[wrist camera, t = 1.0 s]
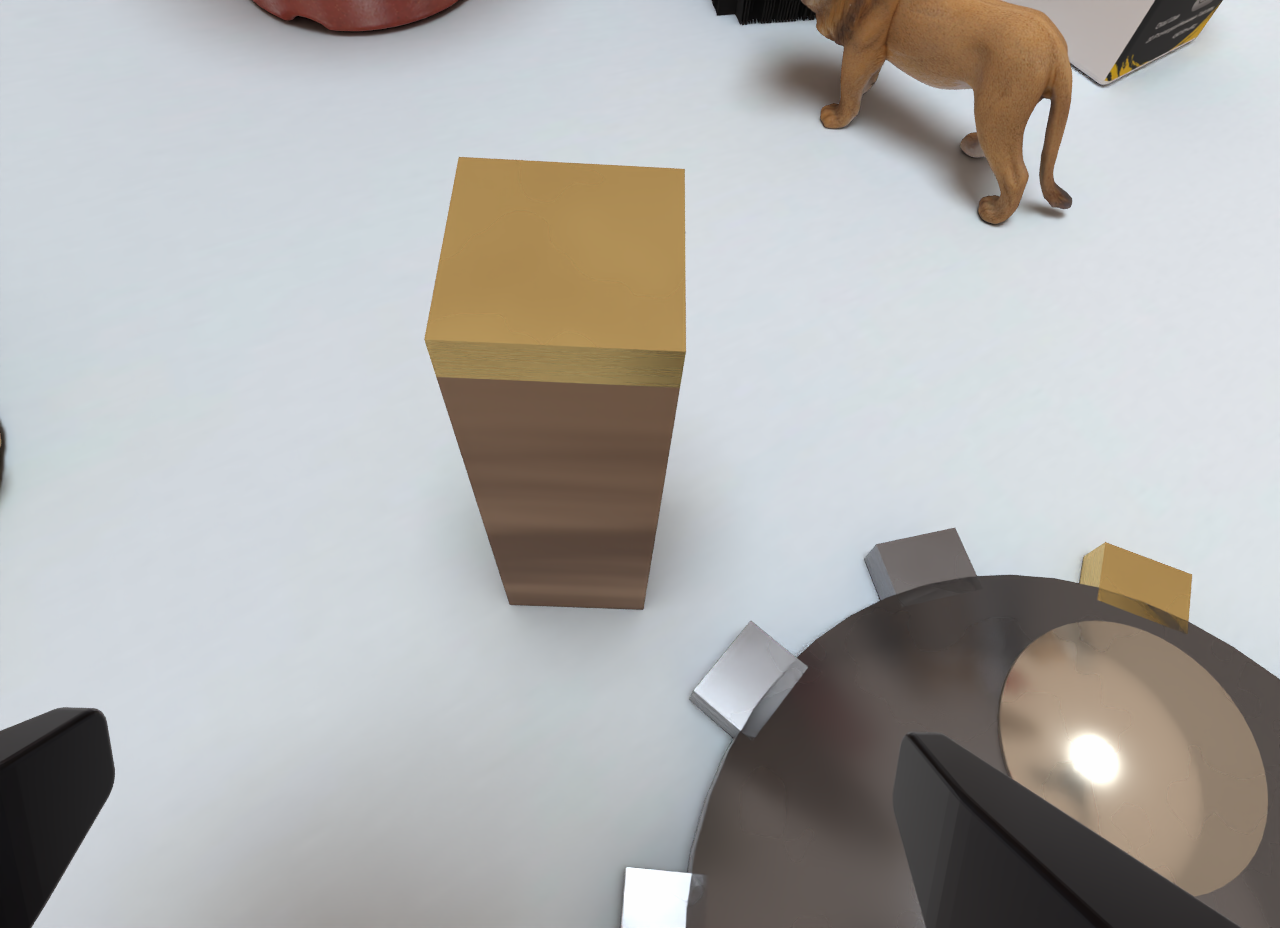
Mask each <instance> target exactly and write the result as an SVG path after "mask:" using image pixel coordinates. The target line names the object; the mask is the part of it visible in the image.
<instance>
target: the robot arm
mask: <svg viewBox="0 0 1280 928" xmlns="http://www.w3.org/2000/svg"><path fill="white" fill-rule="evenodd" d="M114 779H115V767H114V761H113V755H112V749H111V743H110V738H109V732H108V726H107V721H106V717H105V716H104V714H103V713H102V712H101V711H100V710H98V709H95V708H69V707H63V708H57V709H54V710H52V711H49V712H47V713H44V714H42V715H39V716H37V717H34V718H32V719H29V720H27V721H24V722H22V723H19V724H17V725H14V726H12V727H9V728H7V729H4V730H2V731H0V928H31V927H32V926H33V924H34V922H35V921H36V919H37V918H38V916H39V914H40V913H41V911H42V910H43V908H44V906H45V905H46V903H47V901H48V900H49V898H50V896H51V895H52V893H53V891H54V889H55V888H56V886H57V884H58V883H59V881H60V879H61V877H62V876H63V874H64V872H65V871H66V869H67V867H68V865H69V864H70V862H71V860H72V859H73V857H74V855H75V853H76V852H77V850H78V848H79V847H80V845H81V843H82V841H83V840H84V838H85V836H86V835H87V833H88V831H89V829H90V828H91V826H92V824H93V823H94V821H95V819H96V817H97V816H98V814H99V812H100V811H101V809H102V807H103V805H104V804H105V802H106V800H107V799H108V797H109V795H110V793H111V790H112V787H113V784H114ZM892 800H893V810H894V815H895V819H896V822H897V826H898V829H899V833H900V837H901V840H902V844H903V847H904V851H905V855H906V858H907V862H908V865H909V869H910V873H911V876H912V880H913V883H914V887H915V890H916V894H917V898H918V901H919V905H920V908H921V912H922V916H923V919H924V923H925V926H926V928H1242V927H1240V926H1239V925H1237V924H1236V923H1234V922H1233V921H1231V920H1230V919H1228V918H1227V917H1225V916H1223V915H1222V914H1220V913H1219V912H1217V911H1216V910H1214V909H1213V908H1211V907H1210V906H1208V905H1206V904H1205V903H1203V902H1202V901H1200V900H1199V899H1197V898H1196V897H1194V896H1193V895H1191V894H1189V893H1188V892H1186V891H1185V890H1183V889H1182V888H1180V887H1179V886H1177V885H1176V884H1174V883H1172V882H1171V881H1169V880H1168V879H1166V878H1165V877H1163V876H1162V875H1160V874H1159V873H1157V872H1156V871H1154V870H1152V869H1151V868H1149V867H1148V866H1146V865H1145V864H1143V863H1142V862H1140V861H1139V860H1137V859H1135V858H1134V857H1132V856H1131V855H1129V854H1128V853H1126V852H1125V851H1123V850H1122V849H1120V848H1118V847H1117V846H1115V845H1114V844H1112V843H1111V842H1109V841H1108V840H1106V839H1105V838H1103V837H1101V836H1100V835H1098V834H1097V833H1095V832H1094V831H1092V830H1091V829H1089V828H1088V827H1086V826H1084V825H1083V824H1081V823H1080V822H1078V821H1077V820H1075V819H1074V818H1072V817H1071V816H1069V815H1068V814H1066V813H1064V812H1063V811H1061V810H1060V809H1058V808H1057V807H1055V806H1054V805H1052V804H1051V803H1049V802H1047V801H1046V800H1044V799H1043V798H1041V797H1040V796H1038V795H1037V794H1035V793H1034V792H1032V791H1030V790H1029V789H1027V788H1026V787H1024V786H1023V785H1021V784H1020V783H1018V782H1017V781H1015V780H1013V779H1012V778H1010V777H1009V776H1007V775H1006V774H1004V773H1003V772H1001V771H1000V770H998V769H996V768H995V767H993V766H992V765H990V764H989V763H987V762H986V761H984V760H983V759H981V758H980V757H978V756H976V755H975V754H973V753H972V752H970V751H969V750H967V749H966V748H964V747H963V746H961V745H959V744H958V743H956V742H955V741H953V740H952V739H950V738H949V737H947V736H945V735H944V734H942V733H938V732H908V733H907V734H905V735H904V737H903V739H902V741H901V745H900V750H899V757H898V763H897V769H896V775H895V781H894V787H893V799H892Z"/></svg>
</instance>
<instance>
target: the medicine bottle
mask: <svg viewBox="0 0 1280 928" xmlns="http://www.w3.org/2000/svg"><path fill="white" fill-rule="evenodd" d="M1002 1H1005V2H1008V3H1012V4H1015V5H1020V6H1024V7H1029V8H1032V9H1036V10H1039V11H1041V12H1043V13H1045V14H1046V15H1047V16H1048V17H1049V18H1050V19H1051V21H1052V22H1053V23H1054V24H1055V25H1056V27H1057V28H1058V29H1059V31H1060V32H1061V34H1062V35H1063V36H1064V39H1065V41H1066V43H1067V46H1068V57H1069V61H1070V63H1071V64H1072V65H1074V66H1075V67H1077V68H1078V69H1079V70H1081V71H1082V72H1084V73H1085V74H1086V75H1088V76H1089V77H1090V78H1092V79H1093V80H1095V81H1096V82H1097V83H1099V84H1101V85H1105V84H1109V83H1111V82H1113V81H1115V80H1117V79H1119V78H1121V77H1122V76H1124V75H1126V74H1128V73H1130V72H1132V71H1134V70H1136V69H1138V68H1140V67H1142V66H1144V65H1146V64H1148V63H1150V62H1152V61H1153V60H1155V59H1157V58H1159V57H1161V56H1163V55H1165V54H1167V53H1169V52H1171V51H1173V50H1175V49H1177V48H1179V47H1181V46H1183V45H1185V44H1186V43H1188V42H1190V41H1192V40H1194V39H1195V38H1196V37H1197V36H1198V35H1199V33H1200V32H1201V30H1202V29H1203V28H1204V26H1205V25H1206V23H1207V22H1208V21H1209V19H1210V18H1211V16H1212V15H1213V14H1214V12H1215V11H1216V9H1217V8H1218V6H1219V5H1220V4H1221V2H1222V1H1223V0H1002Z"/></svg>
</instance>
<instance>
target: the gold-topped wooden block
mask: <svg viewBox="0 0 1280 928" xmlns="http://www.w3.org/2000/svg"><path fill="white" fill-rule="evenodd" d="M424 340H425V343H426V346H427V349H428V352H429V355H430V359H431V362H432V365H433V368H434V371H435V374H436V377H437V380H438V383H439V387H440V390H441V393H442V396H443V399H444V402H445V405H446V408H447V411H448V414H449V418H450V421H451V424H452V427H453V430H454V433H455V436H456V439H457V442H458V446H459V449H460V452H461V455H462V458H463V461H464V464H465V467H466V470H467V473H468V477H469V480H470V483H471V486H472V489H473V492H474V495H475V498H476V501H477V505H478V508H479V511H480V514H481V517H482V520H483V523H484V526H485V529H486V533H487V536H488V539H489V542H490V545H491V548H492V551H493V554H494V557H495V560H496V564H497V567H498V570H499V573H500V576H501V579H502V582H503V585H504V588H505V592H506V595H507V598H508V601H509V604H510V605H530V606H558V607H586V608H614V609H642V610H643V608H644V602H645V595H646V589H647V583H648V577H649V571H650V565H651V559H652V553H653V547H654V541H655V535H656V529H657V523H658V517H659V511H660V505H661V499H662V493H663V487H664V481H665V475H666V469H667V463H668V456H669V450H670V444H671V438H672V432H673V426H674V420H675V414H676V408H677V402H678V396H679V390H680V384H681V378H682V372H683V366H684V360H685V354H686V303H685V169H674V168H655V167H637V166H618V165H599V164H581V163H562V162H543V161H524V160H506V159H487V158H468V157H459V159H458V164H457V169H456V175H455V180H454V185H453V191H452V196H451V201H450V207H449V212H448V217H447V222H446V228H445V233H444V238H443V244H442V249H441V254H440V260H439V265H438V270H437V275H436V281H435V286H434V291H433V297H432V302H431V307H430V313H429V318H428V323H427V328H426V334H425V339H424Z"/></svg>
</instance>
